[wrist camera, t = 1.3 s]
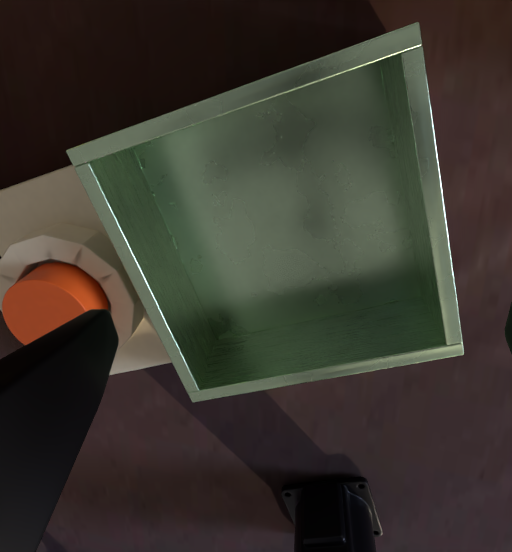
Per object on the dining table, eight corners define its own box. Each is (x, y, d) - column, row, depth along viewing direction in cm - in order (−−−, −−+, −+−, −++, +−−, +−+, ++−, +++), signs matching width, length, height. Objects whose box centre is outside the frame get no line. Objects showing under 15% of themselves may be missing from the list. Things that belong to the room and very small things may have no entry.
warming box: (432, 297, 23) (464, 355, 18) (212, 343, 26) (192, 403, 21) (389, 34, 17) (420, 20, 13) (118, 132, 21) (64, 150, 16)
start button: (123, 326, 21) (107, 348, 20) (54, 342, 23) (33, 365, 21) (83, 252, 20) (61, 269, 18) (10, 273, 21) (-17, 292, 19)
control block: (191, 338, 26) (173, 381, 22) (93, 359, 28) (62, 402, 24) (105, 152, 21) (64, 169, 18) (-7, 192, 23) (-65, 215, 19)
